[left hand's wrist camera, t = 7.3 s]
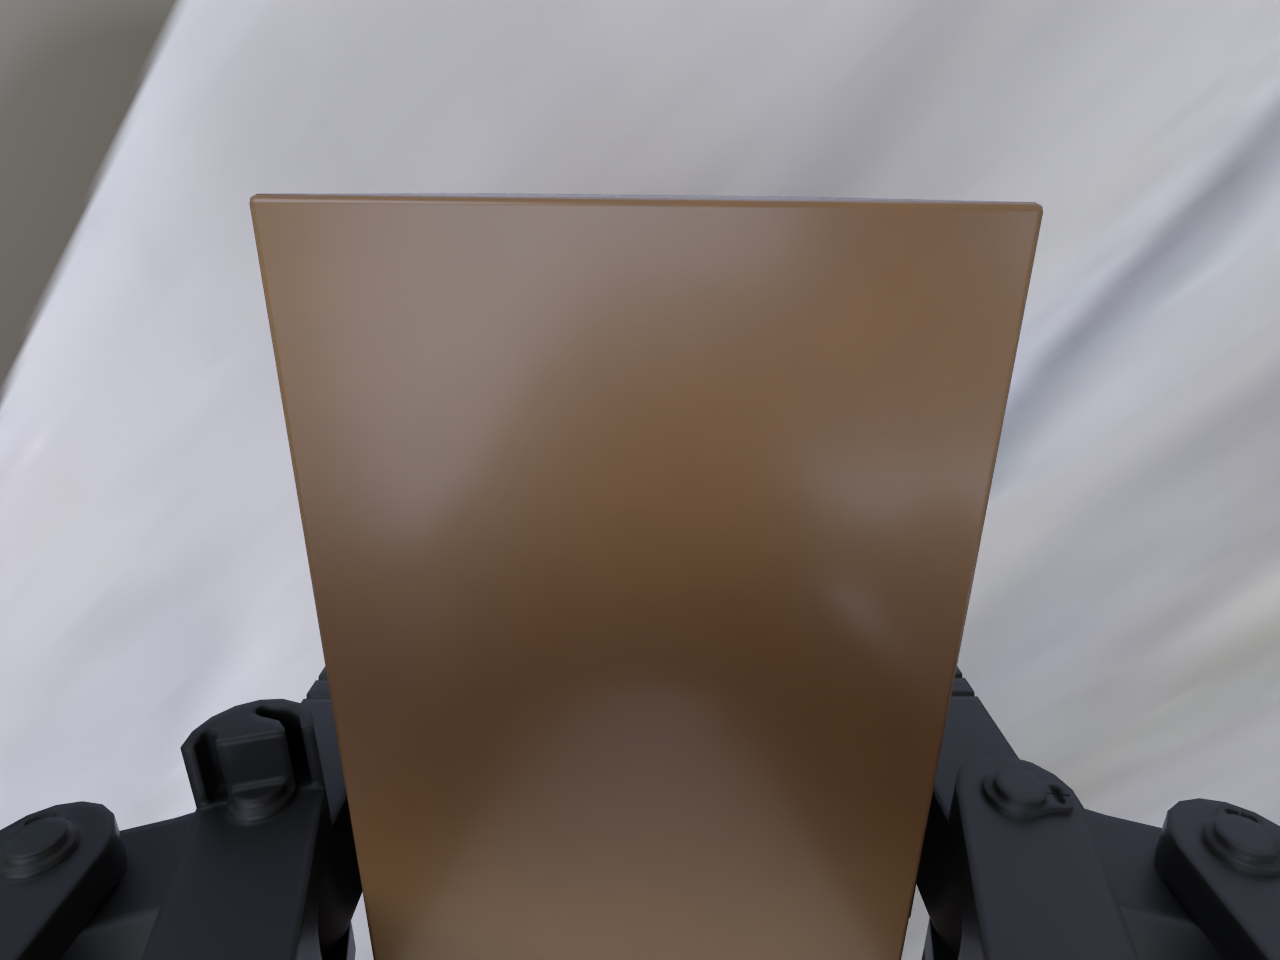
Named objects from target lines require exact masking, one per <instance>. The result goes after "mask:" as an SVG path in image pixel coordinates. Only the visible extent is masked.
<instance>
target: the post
mask: <svg viewBox="0 0 1280 960" xmlns="http://www.w3.org/2000/svg"><path fill="white" fill-rule="evenodd" d="M250 209H251V215H252V221H253V227H254V233H255V239H256V245H257V251H258V257H259V264H260V270H261V276H262V282H263V288H264V294H265V300H266V306H267V312H268V318H269V324H270V331H271V337H272V343H273V349H274V355H275V361H276V367H277V373H278V379H279V385H280V391H281V397H282V404H283V410H284V416H285V422H286V428H287V434H288V440H289V446H290V452H291V458H292V464H293V470H294V477H295V483H296V489H297V495H298V501H299V507H300V513H301V519H302V525H303V531H304V537H305V543H306V550H307V556H308V562H309V568H310V574H311V580H312V586H313V592H314V598H315V604H316V610H317V616H318V623H319V629H320V635H321V641H322V647H323V653H324V659H325V665H326V671H327V677H328V683H329V689H330V696H331V702H332V708H333V714H334V720H335V726H336V732H337V738H338V744H339V750H340V756H341V762H342V769H343V775H344V781H345V787H346V793H347V799H348V805H349V811H350V817H351V823H352V829H353V835H354V842H355V848H356V854H357V860H358V866H359V872H360V878H361V884H362V890H363V896H364V902H365V908H366V915H367V921H368V927H369V933H370V939H371V945H372V951H373V957H374V960H901V957H902V951H903V946H904V941H905V936H906V930H907V925H908V920H909V914H910V909H911V904H912V899H913V893H914V888H915V883H916V878H917V872H918V867H919V862H920V857H921V851H922V846H923V841H924V835H925V830H926V825H927V820H928V814H929V809H930V804H931V799H932V793H933V788H934V783H935V778H936V772H937V767H938V762H939V757H940V751H941V746H942V741H943V735H944V730H945V725H946V720H947V714H948V709H949V704H950V699H951V693H952V688H953V683H954V678H955V672H956V667H957V662H958V656H959V651H960V646H961V641H962V635H963V630H964V625H965V620H966V614H967V609H968V604H969V599H970V593H971V588H972V583H973V577H974V572H975V567H976V562H977V556H978V551H979V546H980V541H981V535H982V530H983V525H984V520H985V514H986V509H987V504H988V499H989V493H990V488H991V483H992V477H993V472H994V467H995V462H996V456H997V451H998V446H999V441H1000V435H1001V430H1002V425H1003V420H1004V414H1005V409H1006V404H1007V398H1008V393H1009V388H1010V383H1011V377H1012V372H1013V367H1014V362H1015V356H1016V351H1017V346H1018V341H1019V335H1020V330H1021V325H1022V320H1023V314H1024V309H1025V304H1026V298H1027V293H1028V288H1029V283H1030V277H1031V272H1032V267H1033V262H1034V256H1035V251H1036V246H1037V241H1038V235H1039V230H1040V225H1041V219H1042V214H1043V209H1042V206H1041V205H1039V204H1037V203H1035V202H997V201H954V200H910V199H866V198H822V197H767V196H676V195H585V194H256V195H254V196H252V197H251V198H250Z"/></svg>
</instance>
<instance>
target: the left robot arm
mask: <svg viewBox="0 0 1280 960" xmlns="http://www.w3.org/2000/svg"><path fill="white" fill-rule="evenodd" d="M181 752H182V755H183V759H184V763H185V766H186V770H187V774H188V778H189V781H190V785H191V789H192V792H193V796H194V800H195V803H196V807H197V809H196V812H194V813H190V814H187V815H184V816H181V817H177V818H173V819H169V820H165V821H161V822H156V823H152V824H148V825H144V826H139V827H135V828H131V829H126V830H122V831H119V829H118V826H117V823H116V819H115V816H114V814H113V813H112V812H111V811H110V810H108V809H107V808H106V807H105V806H104V805H102V804H96V803H90V802H83V801H82V802H75V803H68V804H61V805H55V806H53V807H50V808H47V809H44V810H41V811H38V812H36V813H33V814H30V815H27V816H25V817H24V818H22V819H20V820H18V821H16V822H15V823H13V824H11V825H9V826H7V827H5V828H4V829H2V830H0V960H355V950H356V948H355V942H354V935H353V929H352V924H351V919H352V916H353V914H354V911H355V909H356V906H357V904H358V901H359V899H360V896H361V894H362V891H363V890H362V884H361V878H360V872H359V866H358V860H357V854H356V848H355V842H354V835H353V829H352V823H351V817H350V811H349V805H348V799H347V793H346V787H345V781H344V775H343V769H342V762H341V756H340V750H339V744H338V738H337V732H336V726H335V720H334V714H333V708H332V702H331V696H330V689H329V683H328V677H327V671H326V666H325V668H324V669H323V671H322V672H321V674H320V675H319V680H316V681H315V683H314V684H313V686H312V687H311V689H310V690H309V692H308V693H307V698H306V699H303V701H302V702H301V703H297V702H293V701H289V700H285V699H269V700H258V701H254V702H250V703H246V704H242V705H238V706H235V707H232V708H230V709H228V710H226V711H224V712H222V713H219V714H217V715H215V716H213V717H211V718H210V719H208V720H207V721H206V722H204V723H203V724H202V725H200V726H199V727H198V728H196V729H195V730H194V731H192V733H191V734H190V735H189V737H188V738H187V740H186V741H185V742H184V744H183V745H182V746H181ZM916 884H917V886H918V889H919V891H920V894H921V896H922V899H923V901H924V904H925V906H926V909H927V911H928V914H929V916H930V919H929V924H928V929H927V934H926V940H925V945H924V950H923V955H922V960H1280V826H1278V825H1276V824H1275V823H1273V822H1271V821H1269V820H1267V819H1266V818H1264V817H1262V816H1260V815H1258V814H1256V813H1255V812H1252V811H1249V810H1246V809H1243V808H1240V807H1238V806H1235V805H1232V804H1229V803H1226V802H1220V801H1214V800H1207V799H1200V798H1199V799H1192V800H1185V801H1179V802H1178V803H1177V804H1176V805H1174V806H1173V807H1172V808H1171V809H1170V810H1168V812H1167V815H1166V818H1165V821H1164V824H1163V828H1159V827H1154V826H1150V825H1146V824H1141V823H1137V822H1133V821H1129V820H1124V819H1120V818H1116V817H1111V816H1107V815H1103V814H1100V813H1097V812H1094V811H1090V810H1087V809H1084V807H1083V806H1082V804H1081V803H1080V801H1079V800H1078V798H1077V796H1076V795H1075V793H1074V792H1073V790H1072V789H1071V788H1069V787H1068V786H1067V785H1066V784H1065V783H1064V782H1062V781H1061V780H1060V779H1059V778H1058V777H1057V776H1055V775H1054V774H1052V773H1050V772H1048V771H1046V770H1045V769H1043V768H1041V767H1039V766H1037V765H1035V764H1033V763H1031V762H1027V761H1024V760H1020V759H1019V758H1018V757H1017V755H1016V754H1015V752H1014V751H1013V749H1012V748H1011V746H1010V745H1009V743H1008V742H1007V740H1006V739H1005V737H1004V736H1003V734H1002V733H1001V731H1000V730H999V728H998V727H997V725H996V724H995V722H994V721H993V719H992V718H991V716H990V715H989V713H988V712H987V710H986V709H985V707H984V706H983V704H982V703H981V701H980V700H979V698H978V697H975V696H974V691H973V689H972V688H971V686H970V685H969V683H968V682H967V680H966V679H965V678H962V673H961V671H960V670H959V668H958V667H956V672H955V678H954V683H953V688H952V693H951V699H950V704H949V709H948V714H947V720H946V725H945V730H944V735H943V741H942V746H941V751H940V757H939V762H938V767H937V772H936V778H935V783H934V788H933V793H932V799H931V804H930V809H929V814H928V820H927V825H926V830H925V835H924V841H923V846H922V851H921V857H920V862H919V867H918V872H917V878H916V883H915V888H916ZM915 888H914V893H915ZM914 893H913V899H914ZM913 899H912V904H911V909H910V914H909V918H910V916H911V910H912V905H913Z"/></svg>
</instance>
